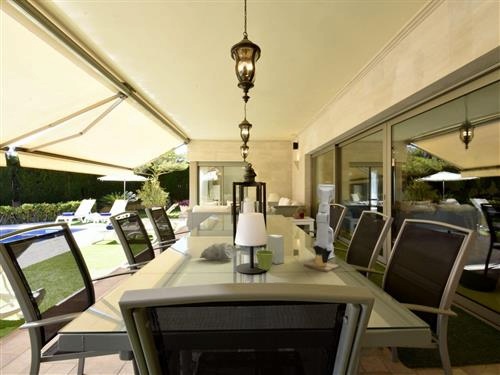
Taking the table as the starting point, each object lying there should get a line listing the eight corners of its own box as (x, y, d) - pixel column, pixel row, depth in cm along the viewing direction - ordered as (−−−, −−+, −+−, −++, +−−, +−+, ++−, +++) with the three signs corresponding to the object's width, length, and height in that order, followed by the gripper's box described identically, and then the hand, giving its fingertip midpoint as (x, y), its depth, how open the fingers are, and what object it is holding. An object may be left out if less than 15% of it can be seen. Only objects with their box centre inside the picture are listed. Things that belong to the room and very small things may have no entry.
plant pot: (268, 273, 137) (268, 255, 137) (251, 269, 142) (251, 252, 142) (276, 268, 144) (277, 251, 144) (260, 265, 149) (261, 249, 149)
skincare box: (284, 263, 155) (285, 236, 155) (275, 264, 152) (276, 237, 152) (274, 259, 162) (275, 233, 162) (266, 260, 159) (267, 234, 159)
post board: (316, 261, 160) (316, 254, 160) (339, 267, 150) (339, 259, 150) (303, 266, 151) (303, 258, 151) (327, 272, 141) (327, 264, 141)
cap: (315, 265, 149) (316, 255, 149) (316, 262, 154) (316, 253, 154) (326, 266, 147) (327, 256, 147) (326, 263, 152) (327, 253, 152)
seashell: (198, 261, 155) (198, 243, 155) (213, 255, 168) (214, 239, 168) (223, 265, 147) (223, 246, 147) (237, 259, 160) (237, 242, 160)
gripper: (309, 233, 156) (308, 258, 156) (322, 238, 142) (322, 265, 142) (320, 233, 158) (320, 257, 158) (335, 238, 144) (334, 264, 144)
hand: (321, 261), depth 151 cm, fingers closed on cap, 6 cm apart
